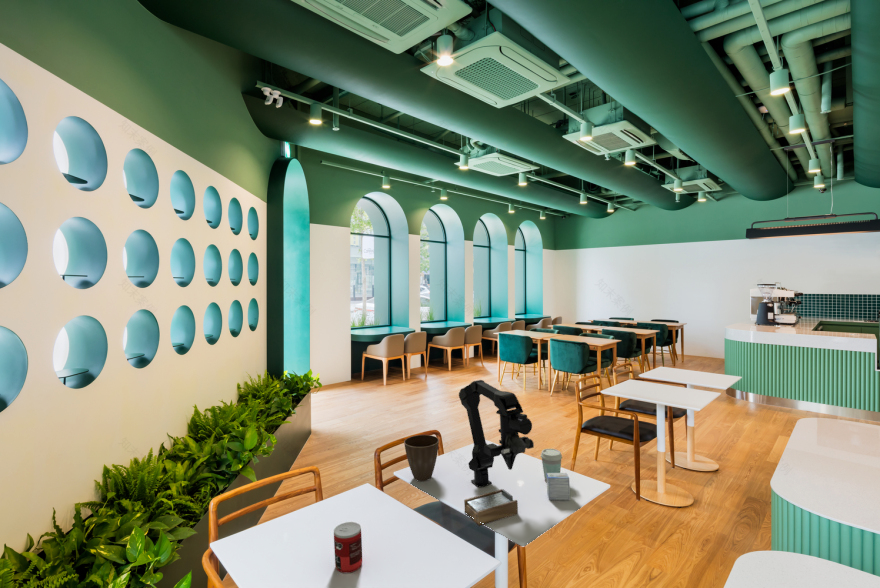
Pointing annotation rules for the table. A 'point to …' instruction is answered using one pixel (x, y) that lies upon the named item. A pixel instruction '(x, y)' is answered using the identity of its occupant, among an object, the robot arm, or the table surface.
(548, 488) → the medicine box
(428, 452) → the plant pot
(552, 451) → the coffee cup
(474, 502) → the cover plate
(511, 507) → the walnut box
